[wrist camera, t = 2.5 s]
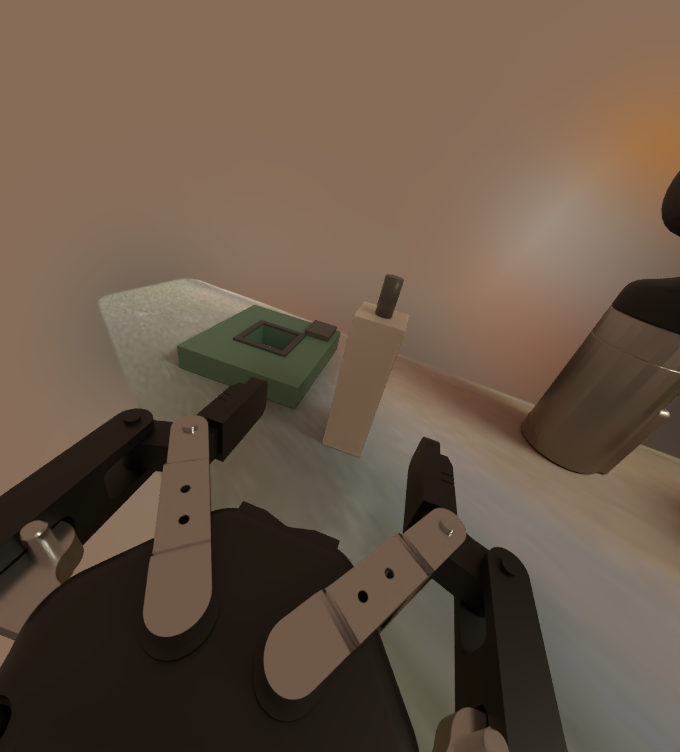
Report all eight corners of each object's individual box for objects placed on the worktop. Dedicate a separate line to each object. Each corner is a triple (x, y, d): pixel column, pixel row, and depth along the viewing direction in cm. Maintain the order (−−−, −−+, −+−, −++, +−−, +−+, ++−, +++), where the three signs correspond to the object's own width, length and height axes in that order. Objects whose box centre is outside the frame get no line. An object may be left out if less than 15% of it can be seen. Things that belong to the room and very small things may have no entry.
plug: (367, 431, 32) (422, 279, 23) (359, 457, 29) (420, 291, 19) (333, 419, 32) (374, 265, 23) (321, 443, 29) (364, 275, 20)
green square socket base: (336, 348, 47) (341, 327, 45) (294, 409, 33) (299, 382, 31) (253, 321, 49) (254, 300, 47) (179, 367, 34) (176, 339, 32)
